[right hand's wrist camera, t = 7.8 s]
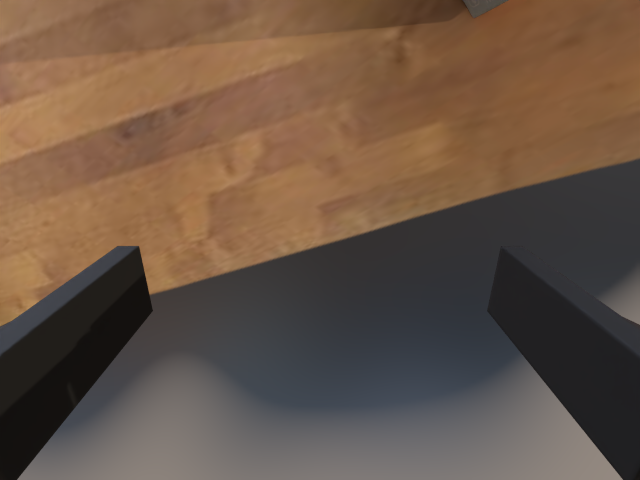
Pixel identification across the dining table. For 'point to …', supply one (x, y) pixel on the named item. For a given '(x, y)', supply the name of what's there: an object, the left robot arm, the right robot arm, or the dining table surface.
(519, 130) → the dining table surface
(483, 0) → the hard drive box
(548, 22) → the dining table surface
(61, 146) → the dining table surface
